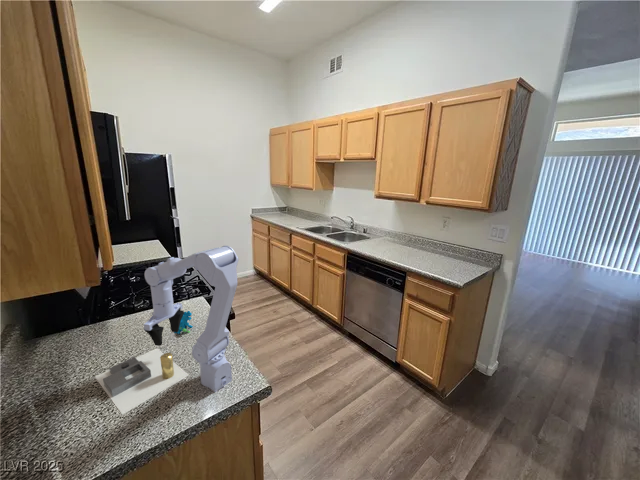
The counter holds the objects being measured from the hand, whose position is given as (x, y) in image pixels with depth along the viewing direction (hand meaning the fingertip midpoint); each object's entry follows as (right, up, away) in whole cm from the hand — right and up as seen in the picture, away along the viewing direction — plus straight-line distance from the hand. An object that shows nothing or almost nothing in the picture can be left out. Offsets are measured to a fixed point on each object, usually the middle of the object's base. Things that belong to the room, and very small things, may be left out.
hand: (167, 337), depth 88 cm
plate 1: (-9, -10, -5) cm, 14 cm away
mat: (-5, -11, -5) cm, 13 cm away
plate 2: (-7, -10, -8) cm, 15 cm away
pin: (+3, -10, -5) cm, 12 cm away
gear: (-5, -5, +21) cm, 22 cm away
